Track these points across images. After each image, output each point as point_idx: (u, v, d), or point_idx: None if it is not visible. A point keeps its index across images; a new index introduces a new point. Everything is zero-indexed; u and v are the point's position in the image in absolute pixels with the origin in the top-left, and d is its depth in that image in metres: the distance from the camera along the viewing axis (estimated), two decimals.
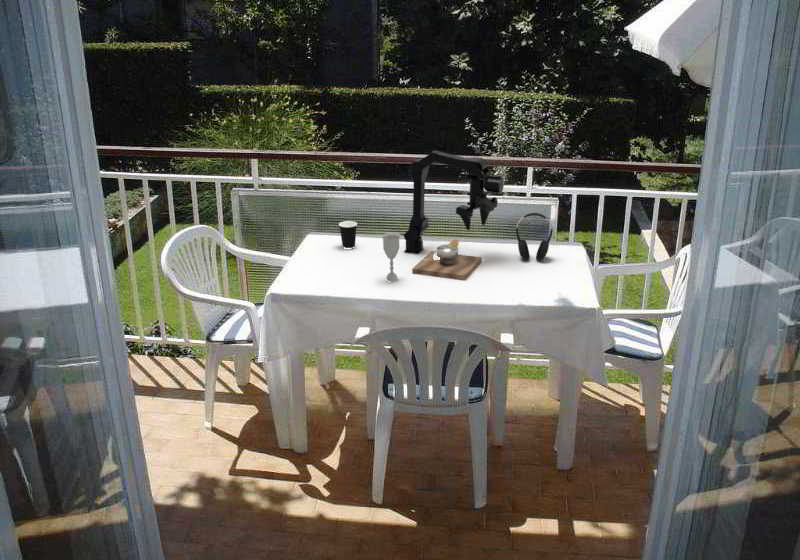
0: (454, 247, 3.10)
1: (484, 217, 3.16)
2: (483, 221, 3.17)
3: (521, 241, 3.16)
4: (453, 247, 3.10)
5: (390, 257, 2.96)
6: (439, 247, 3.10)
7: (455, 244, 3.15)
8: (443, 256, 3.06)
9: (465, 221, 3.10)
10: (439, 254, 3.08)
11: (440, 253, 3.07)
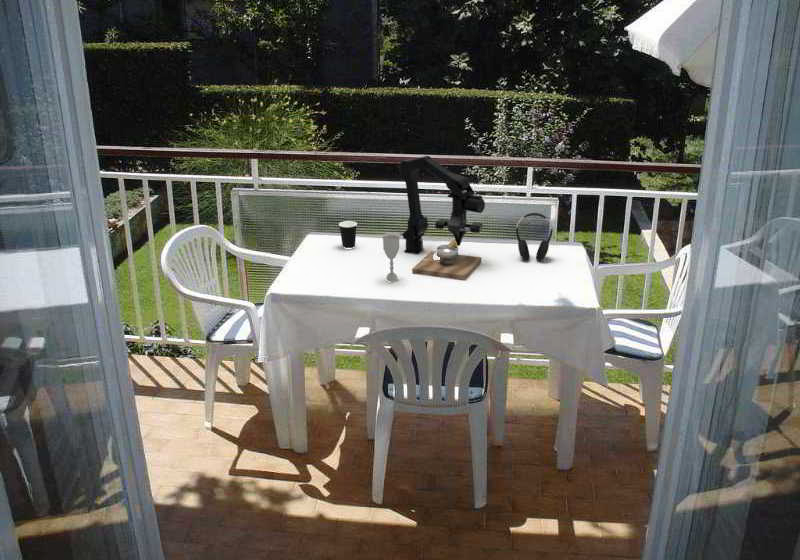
0: (454, 247, 3.10)
1: None
2: None
3: (521, 241, 3.16)
4: (453, 247, 3.10)
5: (390, 257, 2.96)
6: (439, 247, 3.10)
7: (455, 244, 3.15)
8: (443, 256, 3.06)
9: None
10: (439, 254, 3.08)
11: (440, 253, 3.07)
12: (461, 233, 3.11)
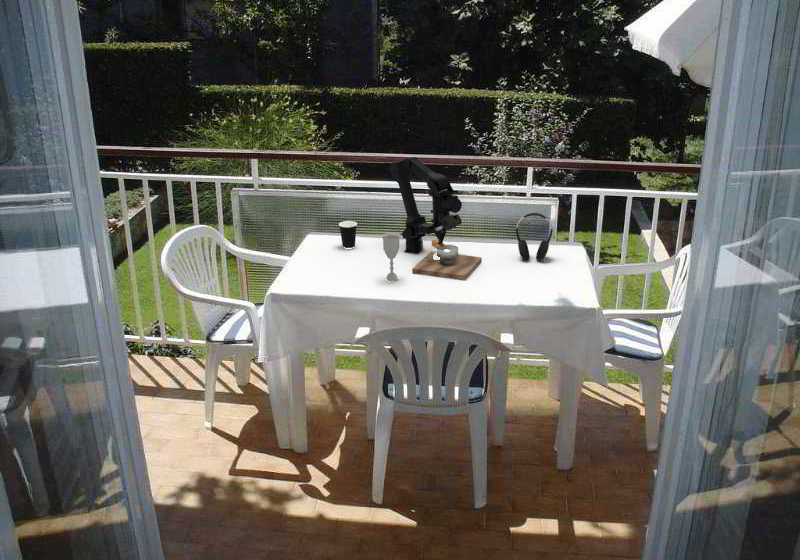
0: (449, 245, 3.12)
1: None
2: (440, 240, 3.16)
3: (521, 241, 3.16)
4: (449, 246, 3.11)
5: (390, 257, 2.96)
6: (441, 249, 3.07)
7: None
8: (452, 256, 3.06)
9: (438, 235, 3.15)
10: (447, 255, 3.06)
11: (448, 254, 3.06)
12: (447, 230, 3.14)
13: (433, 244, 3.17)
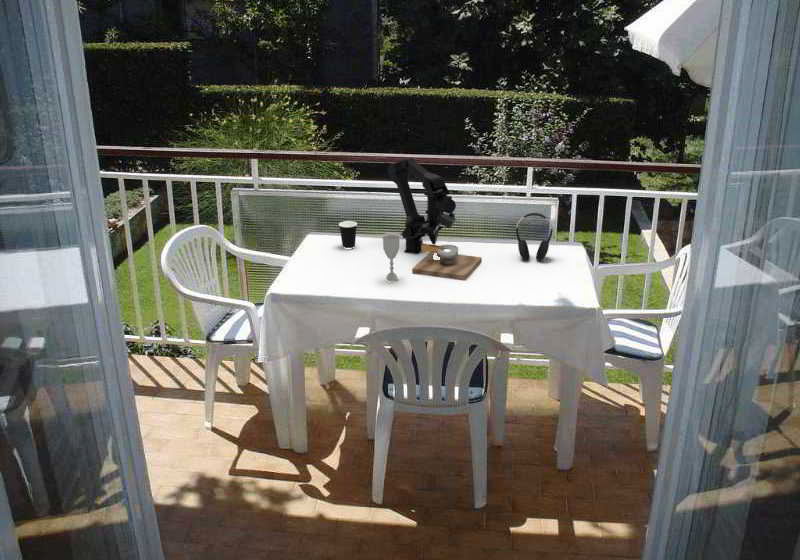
0: (445, 245, 3.12)
1: None
2: None
3: (521, 241, 3.16)
4: (445, 246, 3.11)
5: (390, 257, 2.96)
6: (445, 250, 3.06)
7: None
8: (457, 254, 3.08)
9: (431, 236, 3.16)
10: (453, 255, 3.06)
11: (454, 253, 3.07)
12: None
13: (424, 248, 3.12)
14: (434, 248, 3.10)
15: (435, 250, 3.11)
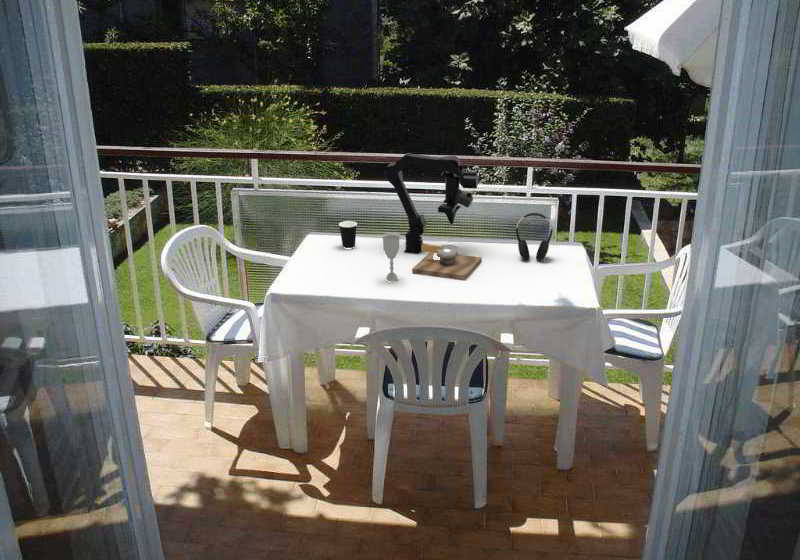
0: (445, 245, 3.12)
1: None
2: None
3: (521, 241, 3.16)
4: (445, 246, 3.11)
5: (390, 257, 2.96)
6: (445, 250, 3.06)
7: None
8: (457, 254, 3.08)
9: (449, 215, 3.21)
10: (453, 255, 3.06)
11: (454, 253, 3.07)
12: None
13: (424, 248, 3.12)
14: (434, 248, 3.10)
15: (435, 250, 3.11)
